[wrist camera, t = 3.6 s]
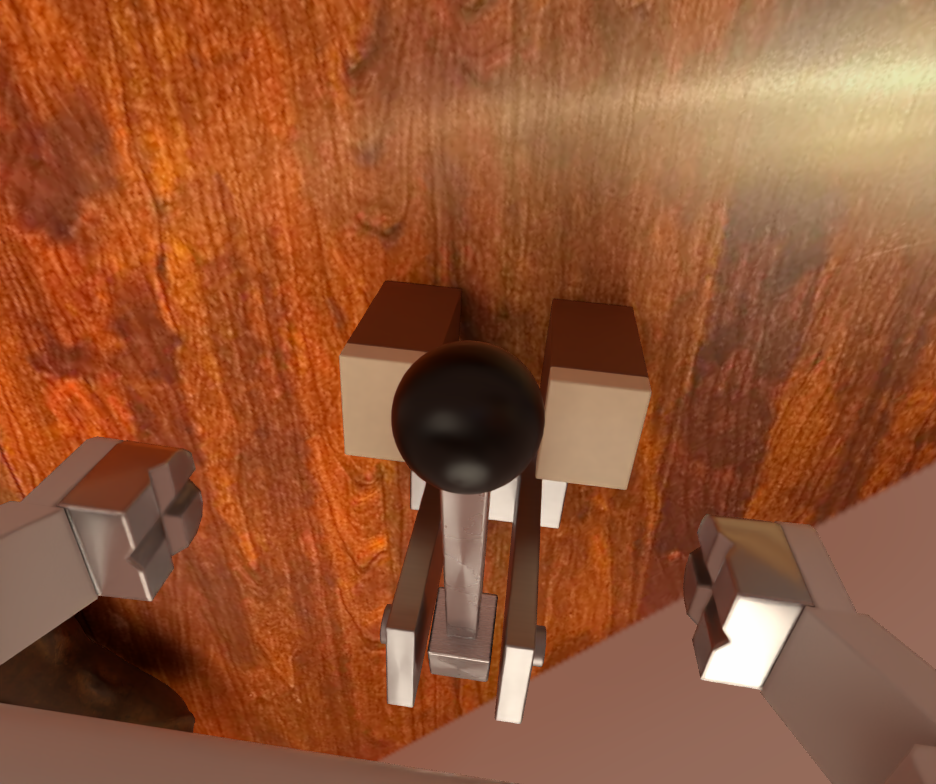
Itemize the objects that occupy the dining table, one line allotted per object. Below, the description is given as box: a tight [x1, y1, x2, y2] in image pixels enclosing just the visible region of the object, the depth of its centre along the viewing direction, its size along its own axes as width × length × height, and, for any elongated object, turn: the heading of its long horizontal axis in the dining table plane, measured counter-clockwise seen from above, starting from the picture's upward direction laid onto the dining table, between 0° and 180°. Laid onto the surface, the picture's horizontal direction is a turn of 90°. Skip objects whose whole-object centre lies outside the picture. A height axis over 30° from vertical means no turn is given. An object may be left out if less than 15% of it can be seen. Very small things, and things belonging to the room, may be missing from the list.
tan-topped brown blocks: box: [339, 281, 652, 490], centre depth 26 cm, size 11×4×7 cm, turn 87°
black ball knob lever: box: [391, 340, 545, 682], centre depth 18 cm, size 17×3×3 cm, turn 176°
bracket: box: [380, 453, 568, 724], centre depth 27 cm, size 7×8×13 cm
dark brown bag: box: [0, 616, 195, 733], centre depth 43 cm, size 12×20×8 cm, turn 47°
